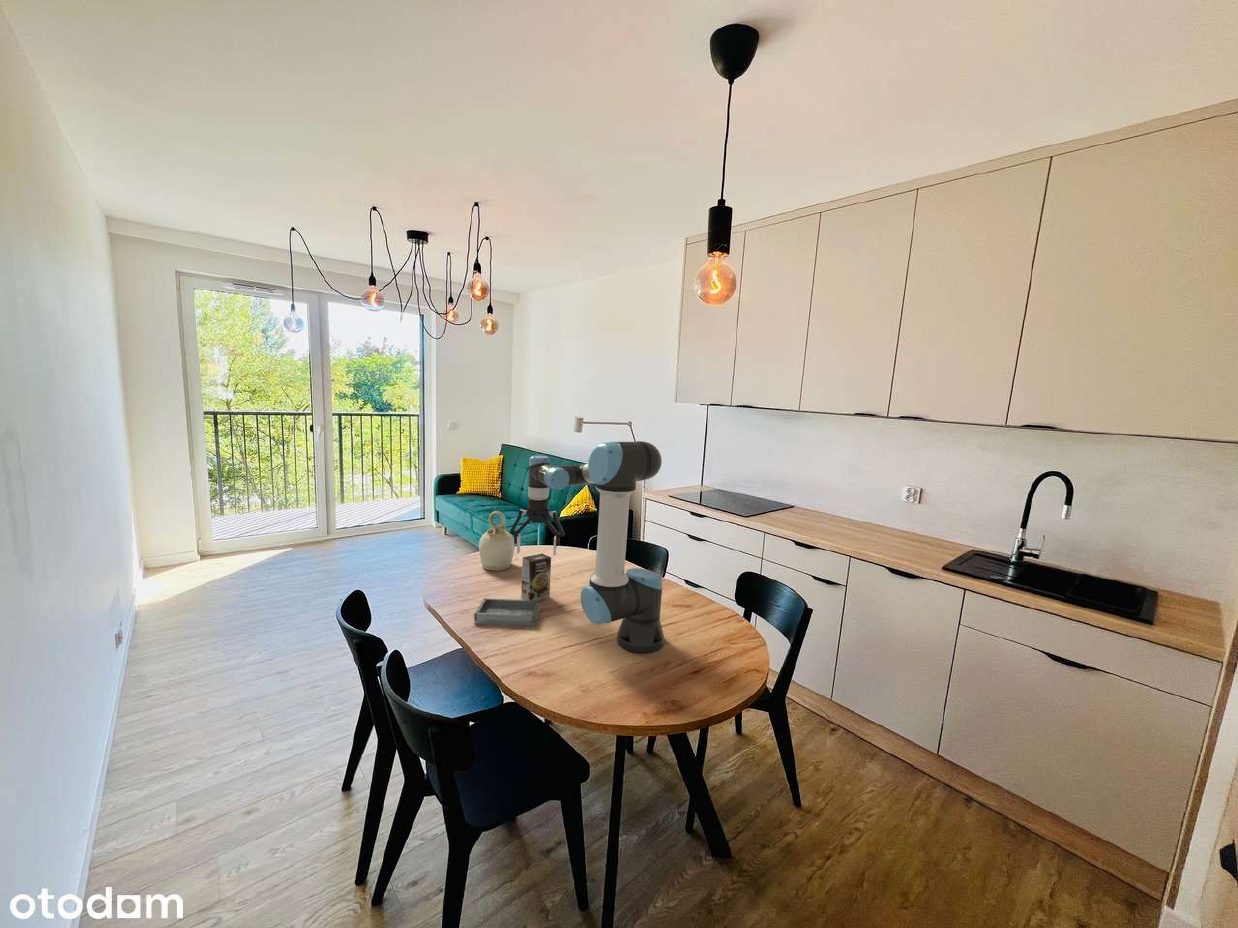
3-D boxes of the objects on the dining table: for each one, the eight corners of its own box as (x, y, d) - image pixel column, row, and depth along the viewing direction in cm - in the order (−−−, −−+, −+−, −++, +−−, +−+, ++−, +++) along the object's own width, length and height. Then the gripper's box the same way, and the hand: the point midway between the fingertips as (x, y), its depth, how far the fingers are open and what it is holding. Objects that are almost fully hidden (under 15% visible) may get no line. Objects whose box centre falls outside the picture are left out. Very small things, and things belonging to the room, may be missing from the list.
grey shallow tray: (539, 609, 178) (540, 600, 177) (534, 626, 166) (534, 616, 165) (483, 607, 177) (483, 598, 177) (474, 623, 165) (474, 613, 165)
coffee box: (529, 603, 183) (530, 561, 180) (520, 597, 187) (521, 556, 185) (550, 597, 189) (551, 557, 186) (541, 592, 193) (542, 552, 191)
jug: (495, 575, 209) (496, 517, 205) (471, 566, 217) (471, 510, 213) (521, 565, 221) (523, 510, 218) (497, 557, 230) (498, 505, 226)
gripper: (573, 497, 186) (570, 551, 190) (506, 493, 186) (505, 548, 189) (571, 501, 179) (569, 558, 182) (502, 498, 178) (500, 554, 182)
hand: (536, 553), depth 186 cm, fingers open, 13 cm apart
